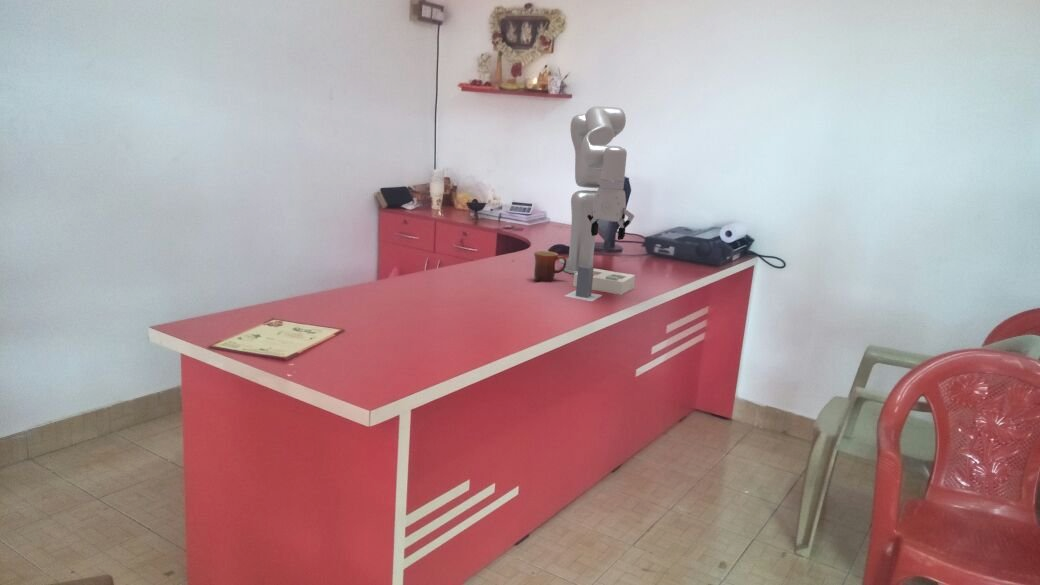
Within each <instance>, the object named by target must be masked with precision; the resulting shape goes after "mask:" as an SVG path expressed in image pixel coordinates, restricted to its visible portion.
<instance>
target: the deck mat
mask: <svg viewBox="0 0 1040 585" xmlns="http://www.w3.org/2000/svg"><path fill="white" fill-rule="evenodd" d="M602 296H603V294H598V293H597V294H596V293H592V292H591V296H589V297H587V298H585V297H579V296H576V289H575V290H573V291H571V292H569V293H567V294H565V295H564V297H567V298H572V299H575V300H576V299H577V300H583V301H588V302H593V301H595V300H597V299H599V298H600V297H602Z"/></svg>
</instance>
